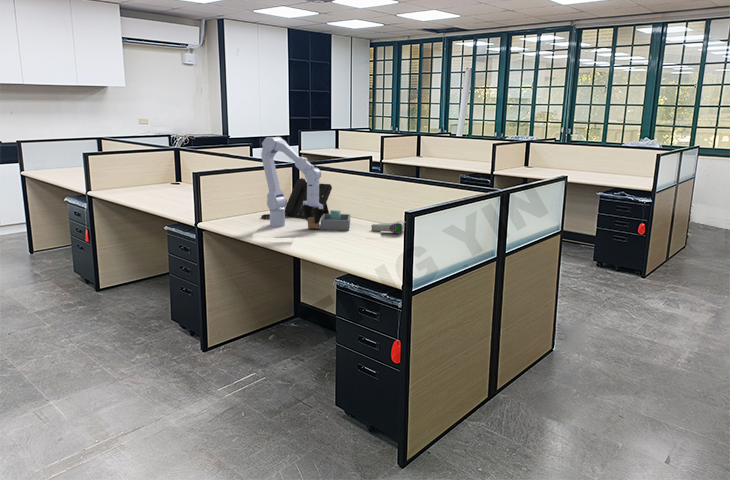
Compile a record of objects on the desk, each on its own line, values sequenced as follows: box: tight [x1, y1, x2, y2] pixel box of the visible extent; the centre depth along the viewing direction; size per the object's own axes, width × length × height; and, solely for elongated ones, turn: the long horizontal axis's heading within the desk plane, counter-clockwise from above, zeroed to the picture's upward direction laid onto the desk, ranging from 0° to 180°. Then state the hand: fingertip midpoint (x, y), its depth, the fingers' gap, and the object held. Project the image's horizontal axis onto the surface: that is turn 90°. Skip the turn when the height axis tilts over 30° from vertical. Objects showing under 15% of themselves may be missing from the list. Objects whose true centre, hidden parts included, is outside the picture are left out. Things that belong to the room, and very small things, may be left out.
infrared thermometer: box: [371, 220, 405, 234], centre depth 264 cm, size 5×12×15 cm
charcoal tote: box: [320, 213, 351, 232], centre depth 269 cm, size 18×14×5 cm
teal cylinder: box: [329, 209, 342, 220], centre depth 272 cm, size 5×5×7 cm
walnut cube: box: [307, 217, 320, 230], centre depth 263 cm, size 5×5×5 cm
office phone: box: [261, 177, 333, 220], centre depth 294 cm, size 29×28×20 cm
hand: (312, 221), depth 263 cm, fingers closed on walnut cube, 7 cm apart
